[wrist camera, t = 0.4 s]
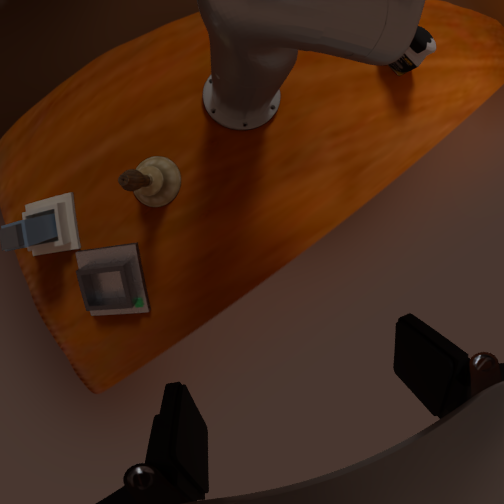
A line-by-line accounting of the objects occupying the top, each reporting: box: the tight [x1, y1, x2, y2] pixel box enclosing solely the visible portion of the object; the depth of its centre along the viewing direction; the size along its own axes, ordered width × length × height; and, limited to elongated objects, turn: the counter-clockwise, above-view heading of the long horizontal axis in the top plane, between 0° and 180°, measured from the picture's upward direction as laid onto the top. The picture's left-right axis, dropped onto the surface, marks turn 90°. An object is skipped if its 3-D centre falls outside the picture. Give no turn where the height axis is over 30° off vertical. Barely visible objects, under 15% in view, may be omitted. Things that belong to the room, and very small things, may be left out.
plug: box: [0, 213, 58, 251], centre depth 33 cm, size 4×6×12 cm, turn 95°
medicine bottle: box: [388, 26, 436, 76], centre depth 34 cm, size 7×7×12 cm
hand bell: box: [118, 156, 181, 207], centre depth 34 cm, size 8×8×16 cm
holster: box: [22, 192, 81, 256], centre depth 38 cm, size 10×12×4 cm
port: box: [76, 243, 151, 316], centre depth 41 cm, size 12×12×5 cm
